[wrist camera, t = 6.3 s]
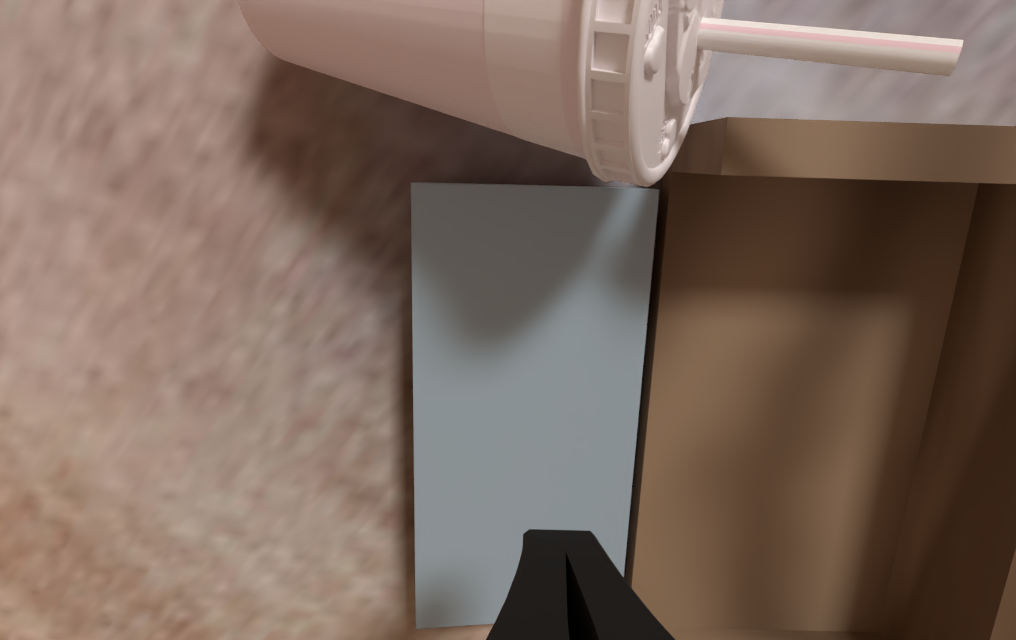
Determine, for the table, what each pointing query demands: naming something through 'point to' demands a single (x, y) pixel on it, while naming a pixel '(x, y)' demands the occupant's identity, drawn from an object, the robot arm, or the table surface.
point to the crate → (831, 385)
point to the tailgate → (522, 378)
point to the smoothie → (562, 63)
